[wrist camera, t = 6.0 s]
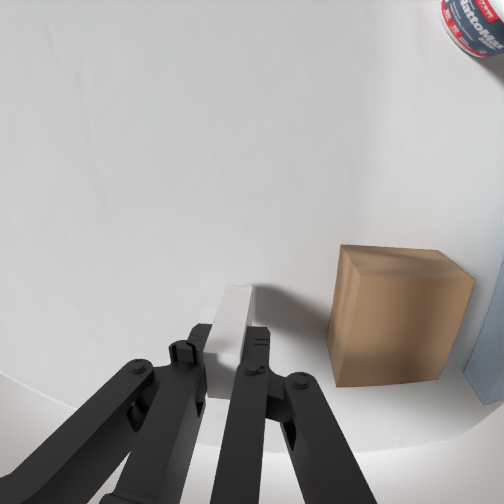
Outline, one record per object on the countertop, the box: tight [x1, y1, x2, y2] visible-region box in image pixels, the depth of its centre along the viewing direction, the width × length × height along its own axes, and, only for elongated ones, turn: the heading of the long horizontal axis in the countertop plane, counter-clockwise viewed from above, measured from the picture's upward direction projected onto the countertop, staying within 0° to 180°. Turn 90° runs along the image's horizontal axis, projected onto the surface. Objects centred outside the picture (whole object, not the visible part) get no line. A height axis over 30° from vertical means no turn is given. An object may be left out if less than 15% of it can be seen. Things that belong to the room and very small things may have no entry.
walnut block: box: [326, 245, 475, 387], centre depth 17 cm, size 7×7×5 cm
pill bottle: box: [439, 0, 504, 58], centre depth 8 cm, size 5×5×9 cm
